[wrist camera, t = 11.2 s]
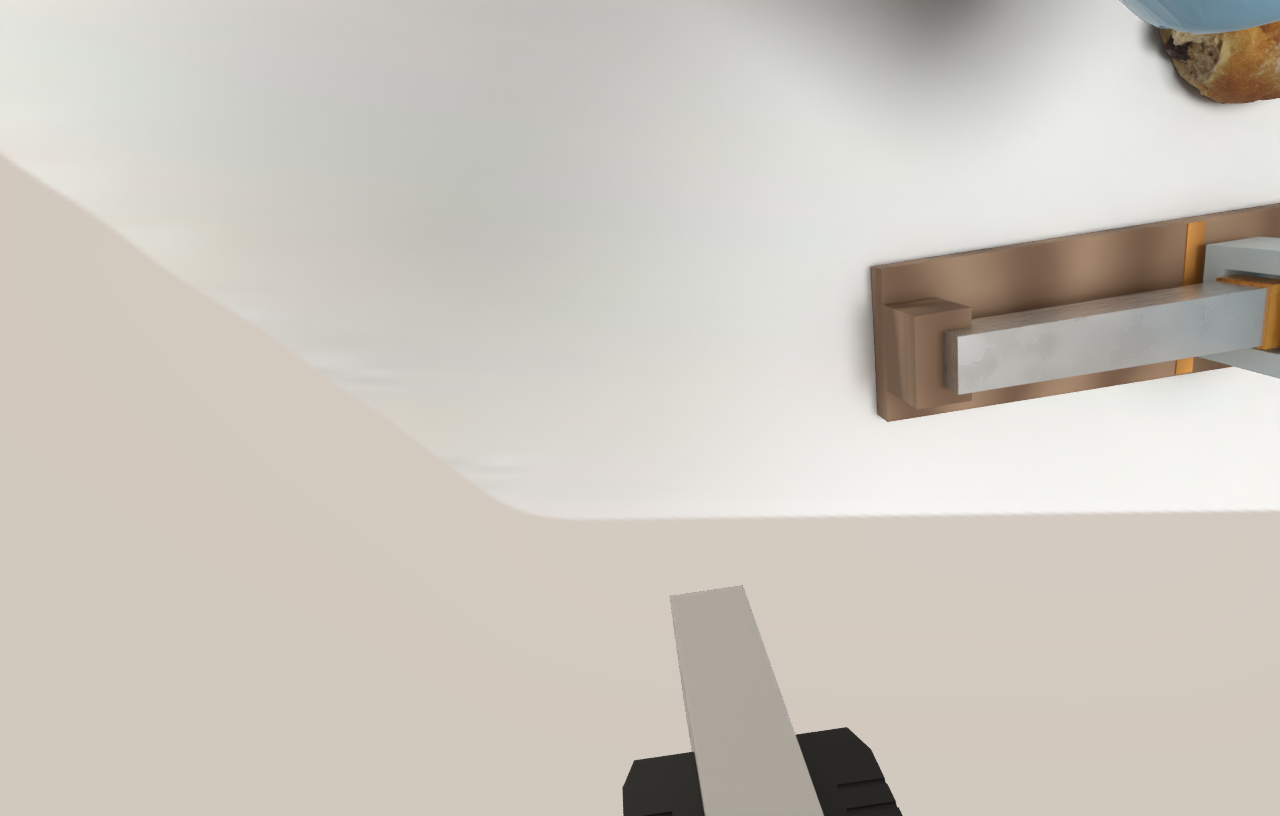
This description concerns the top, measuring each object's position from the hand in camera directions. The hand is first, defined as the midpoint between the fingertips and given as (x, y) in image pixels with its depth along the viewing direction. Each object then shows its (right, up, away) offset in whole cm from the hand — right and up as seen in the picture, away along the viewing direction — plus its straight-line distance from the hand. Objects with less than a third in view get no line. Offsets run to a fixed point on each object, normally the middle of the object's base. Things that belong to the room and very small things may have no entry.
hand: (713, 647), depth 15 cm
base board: (+26, +11, +28) cm, 40 cm away
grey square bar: (+26, +10, +24) cm, 37 cm away
